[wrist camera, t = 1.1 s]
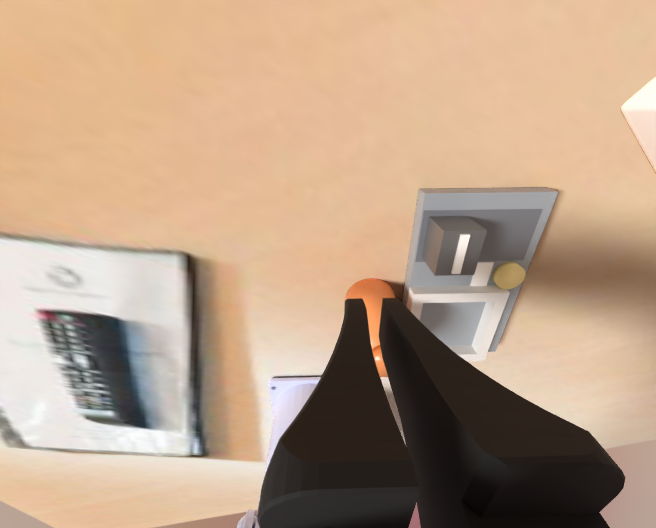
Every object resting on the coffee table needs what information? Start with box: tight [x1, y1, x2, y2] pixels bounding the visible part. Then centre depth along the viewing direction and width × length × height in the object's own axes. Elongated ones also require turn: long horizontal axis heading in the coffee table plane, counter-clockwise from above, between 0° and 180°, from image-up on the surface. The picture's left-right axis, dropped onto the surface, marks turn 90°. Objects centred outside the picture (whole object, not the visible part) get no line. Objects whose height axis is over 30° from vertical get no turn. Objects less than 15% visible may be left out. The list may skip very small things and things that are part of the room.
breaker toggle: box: [422, 216, 487, 276], centre depth 18 cm, size 3×2×3 cm
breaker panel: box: [402, 187, 558, 361], centre depth 21 cm, size 14×8×2 cm, turn 0°
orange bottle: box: [345, 279, 396, 377], centre depth 20 cm, size 4×4×7 cm
